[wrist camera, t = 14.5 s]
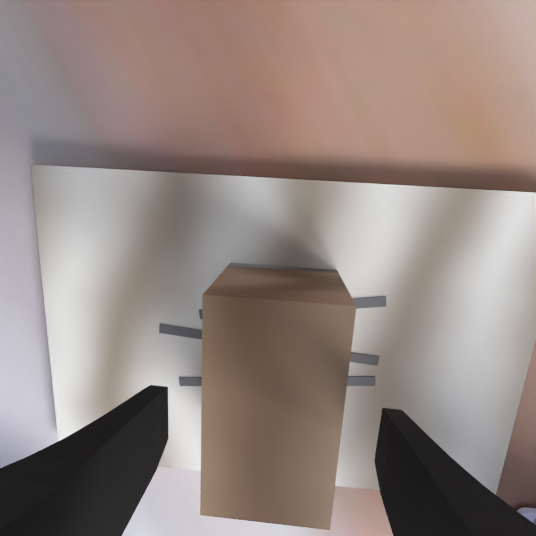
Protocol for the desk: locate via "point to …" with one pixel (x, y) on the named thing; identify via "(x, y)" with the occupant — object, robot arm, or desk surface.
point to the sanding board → (304, 256)
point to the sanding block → (273, 392)
